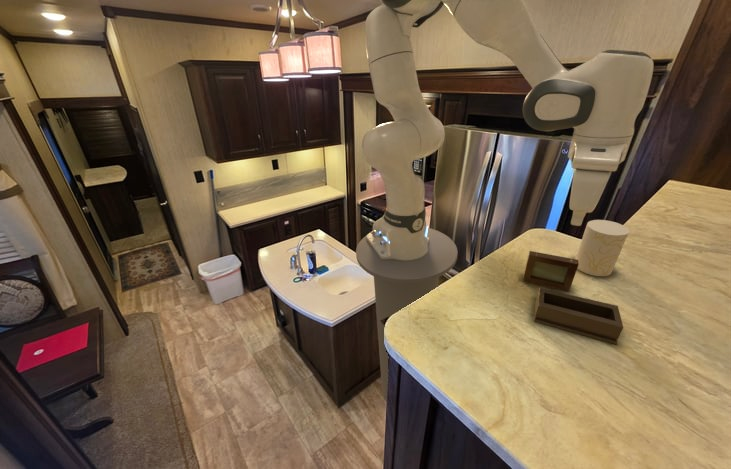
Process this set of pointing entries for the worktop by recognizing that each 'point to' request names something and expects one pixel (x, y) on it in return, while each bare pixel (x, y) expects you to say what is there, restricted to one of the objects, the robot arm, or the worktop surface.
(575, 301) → the holder
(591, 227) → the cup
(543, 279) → the frame
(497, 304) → the worktop surface
